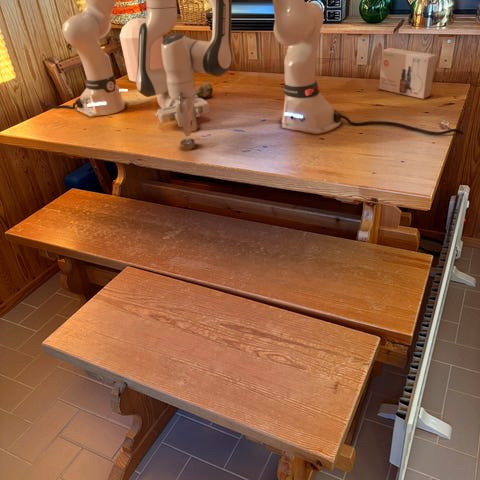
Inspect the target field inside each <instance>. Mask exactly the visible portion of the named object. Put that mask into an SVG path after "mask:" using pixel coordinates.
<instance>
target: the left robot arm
mask: <svg viewBox="0 0 480 480" xmlns="http://www.w3.org/2000/svg"><path fill="white" fill-rule="evenodd" d="M116 3H117V0H85V5H84V8H83V10H82V11H81V12H80V13H78V14H74V15H71V16H70V17H69V18H68V19H66V21H64V23H63V24H62V26H61V27H62V28H61V32H62V33H61V34H62V36H63V38H64V40H65V42H67V43H68V44H69V45H71V46H72V47H73V48H74V50H75V51H76V53H77V54H78V56H79V59H80V61H81V63H82V67H83V70H84V74H85V79H84V82H83V83H85V89H84V91H83V92H82V93H81V95H80V96H79V97H78V98H77V99H76V100H75V102H73V103H72V106H71V105H67V104H61V105H54V104H49V103H48V104H46V105H45V106H44V109H47V108H49V107H50V108H52V109H61V108H67V109H71V110H74V109H77V111H78V112H80V113H82V114H84V115H86V116H88V117H91V118H92V117H93V118H94V117H98V116H107V115H109V116H110V115H113V114H116V113H119V112H121V111H123V110H124V109H125V108H126V106H125V105H126V101H125V100H123V95H122V93H121V92H128V89H127V88H126V89H125V88H120V87H119V86H118V85H117V81H116V76H115V74H114V72H113V68H112V63H111V60H110V56H109V55H108V53H106V52H105V51H104V50H103V48H102V45H101V44H100V41H99V40H102V39H103V38H105V37H106V36H107V35H108V33H109V32H111V30H112V29H111V28H112V20H111V19H112V18H111V17H112V14H113V10H114V8H115V5H116ZM177 5H178V4H177V0H145V6H146V16H145V18H146V19H145V22H144V23H143V24H142V25H141V26H140V31H139V43H138V68H137V77H136V82H135V85H136V88H137V91H138V92H139V94H140V95H142V96H144V97H146V98H150V97H154V96H156V101H157V104H158V105H159V108H158V109H157V111H156V112H154V113H153V115H154V117H156V118H158V121H159V123H160V124H168V123H171V122H176V121H177V114H176V107H175V104H176V102H175V101H174V98H171V97H170V96H169V91H168V86H167V81H166V80H167V75H166V71H165V69H164V68H158V69H150V52H151V46H152V44H153V43H154V41H155V40H157V39H158V38H160V37H161V36H162V37H164V36H165V35H167V34H169V33H170V32H171V31H172V30H174V28H175V26H176V25H177V22H178V6H177ZM194 108H195V114H196V119H197V118H200V115H203V114H204V115H205V114H208V113H209V112H210V110H211V109H210V108H211V107H210V103H209V102H208V100H205V98H198V96H197V95H194Z"/></svg>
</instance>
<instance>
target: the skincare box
mask: <svg viewBox="0 0 480 480" xmlns="http://www.w3.org/2000/svg"><path fill="white" fill-rule="evenodd" d="M436 57H437V54H435V53H427V52H423V51H422V52H420V51H413V50H407V49H400V48H395V47H394V48H393V47H387V48H385V49H382V50H381V61H380V74H379V86H378V87H379V88H378V89H379V90H383V91H387V92H391V93H395V94H399V95H405V96H409V97H414V98H418V99H422V100H424V99H426V98H428V97H430V96H431V91H432V86H433V85H432V84H433V78H434V73H435V72H434V71H435V70H434V69H435V64H436Z"/></svg>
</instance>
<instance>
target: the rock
mask: <svg viewBox="0 0 480 480" xmlns="http://www.w3.org/2000/svg"><path fill="white" fill-rule="evenodd" d="M213 93H214V88H213V86H212V84H211V82H209V81H206V82H203V84H200V85H199V87H197V88H196V94H195V95H197V96H198V98H202V99H208V98H211V96H212V95H213Z"/></svg>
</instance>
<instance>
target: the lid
mask: <svg viewBox="0 0 480 480" xmlns="http://www.w3.org/2000/svg"><path fill="white" fill-rule="evenodd" d="M179 143H180V149H181V150H182V151H191V150H193V149H195V148H196V142H195V139H193V138H185V139H182V140H180V142H179Z"/></svg>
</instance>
